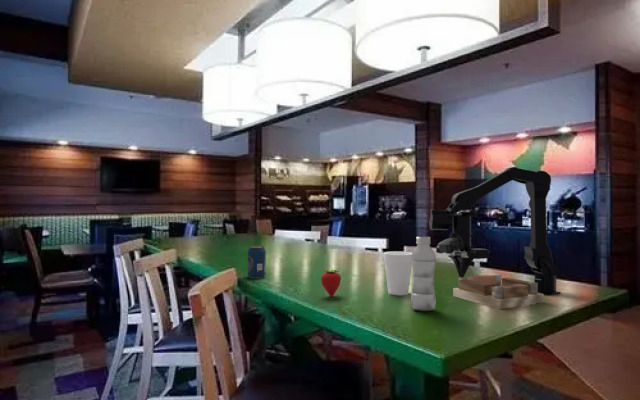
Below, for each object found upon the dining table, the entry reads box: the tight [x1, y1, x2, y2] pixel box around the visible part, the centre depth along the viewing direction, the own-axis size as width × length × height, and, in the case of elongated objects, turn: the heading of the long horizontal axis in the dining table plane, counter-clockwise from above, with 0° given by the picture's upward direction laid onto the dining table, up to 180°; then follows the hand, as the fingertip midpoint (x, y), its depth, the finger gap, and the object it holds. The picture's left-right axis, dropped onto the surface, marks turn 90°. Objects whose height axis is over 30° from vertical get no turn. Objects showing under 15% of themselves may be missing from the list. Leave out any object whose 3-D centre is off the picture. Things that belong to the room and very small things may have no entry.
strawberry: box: [320, 263, 342, 297], centre depth 132 cm, size 6×8×10 cm
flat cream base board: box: [452, 277, 545, 310], centre depth 128 cm, size 18×18×6 cm
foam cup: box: [383, 251, 413, 296], centre depth 137 cm, size 10×9×13 cm
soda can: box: [247, 245, 267, 279], centre depth 166 cm, size 7×7×12 cm
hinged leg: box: [467, 273, 502, 285], centre depth 136 cm, size 12×4×3 cm, turn 113°
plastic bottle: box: [410, 236, 437, 312], centre depth 115 cm, size 6×7×20 cm
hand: (461, 277), depth 140 cm, fingers closed
